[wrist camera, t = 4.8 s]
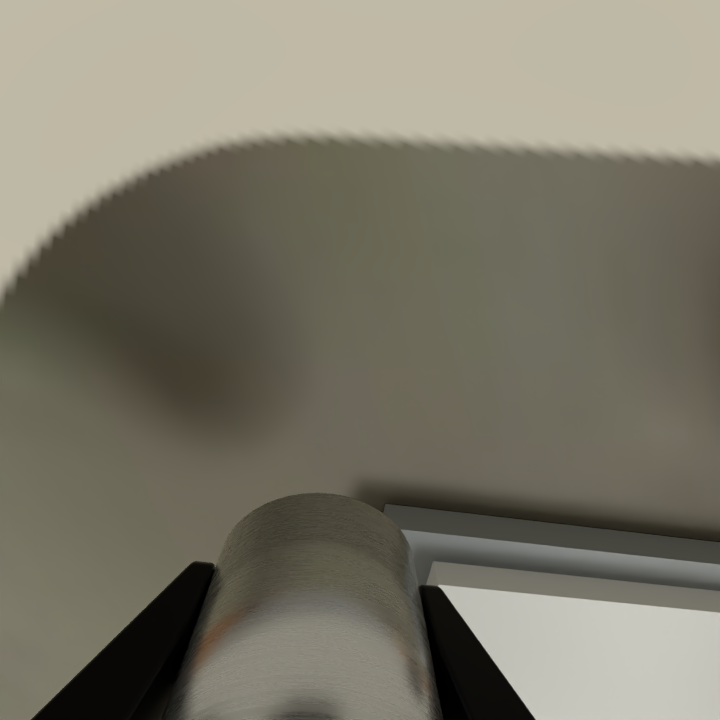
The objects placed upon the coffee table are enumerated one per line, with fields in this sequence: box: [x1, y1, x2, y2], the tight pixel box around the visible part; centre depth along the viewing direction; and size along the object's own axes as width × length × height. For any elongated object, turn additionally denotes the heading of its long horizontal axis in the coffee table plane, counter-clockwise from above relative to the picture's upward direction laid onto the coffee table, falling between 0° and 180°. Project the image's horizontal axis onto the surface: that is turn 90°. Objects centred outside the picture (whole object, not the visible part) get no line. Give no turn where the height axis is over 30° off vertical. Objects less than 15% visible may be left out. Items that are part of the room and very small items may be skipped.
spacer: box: [161, 493, 443, 720], centre depth 7 cm, size 4×4×4 cm
